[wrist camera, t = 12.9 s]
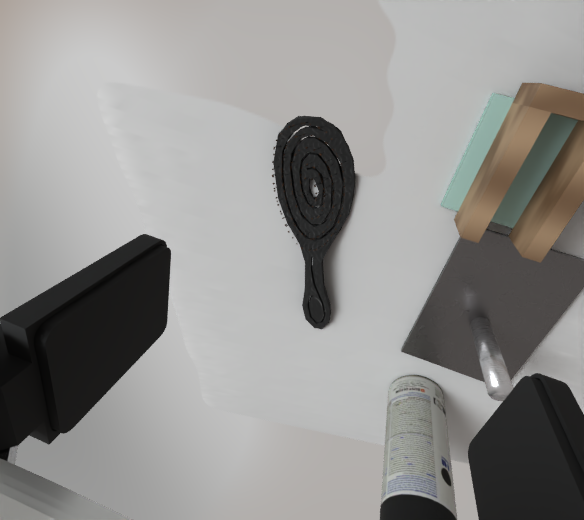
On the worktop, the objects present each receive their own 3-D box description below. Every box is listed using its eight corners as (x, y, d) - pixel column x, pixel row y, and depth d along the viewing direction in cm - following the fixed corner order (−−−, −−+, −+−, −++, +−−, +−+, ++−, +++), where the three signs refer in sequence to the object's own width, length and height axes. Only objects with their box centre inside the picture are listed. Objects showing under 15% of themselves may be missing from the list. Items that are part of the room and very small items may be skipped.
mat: (492, 93, 29) (494, 93, 29) (621, 126, 28) (625, 127, 27) (440, 204, 34) (441, 206, 34) (547, 237, 33) (550, 239, 32)
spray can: (423, 420, 47) (435, 617, 30) (377, 395, 47) (362, 577, 30) (454, 390, 43) (487, 594, 26) (404, 364, 44) (404, 549, 26)
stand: (467, 223, 34) (487, 271, 26) (597, 263, 33) (666, 329, 24) (401, 348, 43) (400, 416, 34) (502, 385, 41) (528, 466, 33)
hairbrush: (282, 335, 44) (258, 119, 32) (290, 316, 47) (271, 114, 35) (349, 343, 42) (351, 116, 30) (353, 323, 45) (356, 110, 33)
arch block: (522, 82, 28) (541, 83, 24) (611, 105, 27) (645, 109, 23) (454, 219, 34) (460, 237, 30) (524, 241, 33) (540, 262, 29)
